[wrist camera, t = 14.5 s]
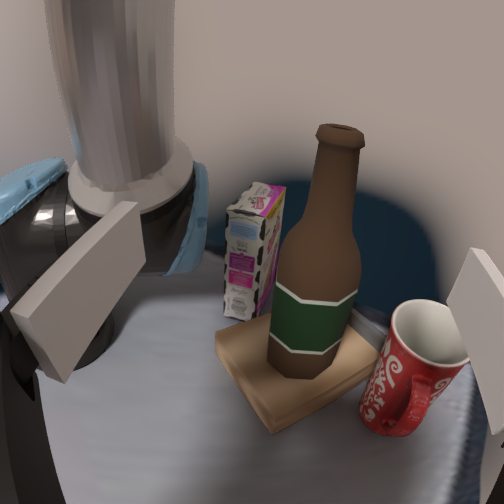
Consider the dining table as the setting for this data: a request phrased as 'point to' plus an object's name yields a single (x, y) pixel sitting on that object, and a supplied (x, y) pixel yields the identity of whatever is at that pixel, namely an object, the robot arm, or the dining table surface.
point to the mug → (412, 367)
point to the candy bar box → (251, 249)
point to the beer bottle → (318, 263)
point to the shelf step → (295, 390)
